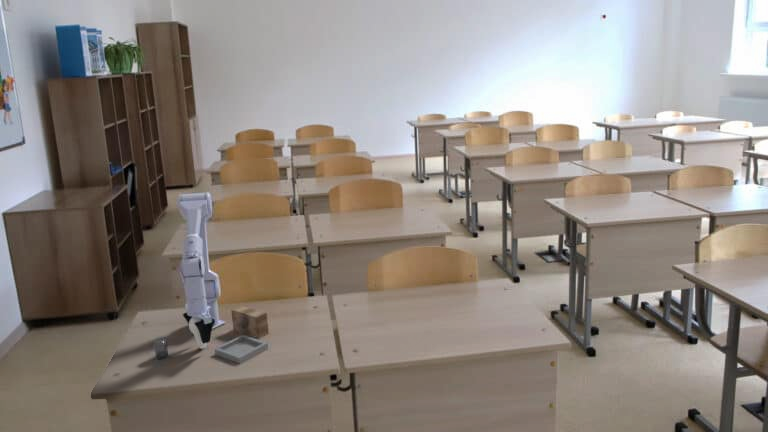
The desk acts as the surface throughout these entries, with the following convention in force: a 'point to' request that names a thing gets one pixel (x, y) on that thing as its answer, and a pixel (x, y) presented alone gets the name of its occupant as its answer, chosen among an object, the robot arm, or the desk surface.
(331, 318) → the desk surface
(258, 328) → the lamp housing
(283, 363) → the desk surface
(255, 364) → the desk surface
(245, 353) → the tray
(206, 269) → the robot arm
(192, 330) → the lightbulb
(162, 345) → the fuse
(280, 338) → the desk surface
